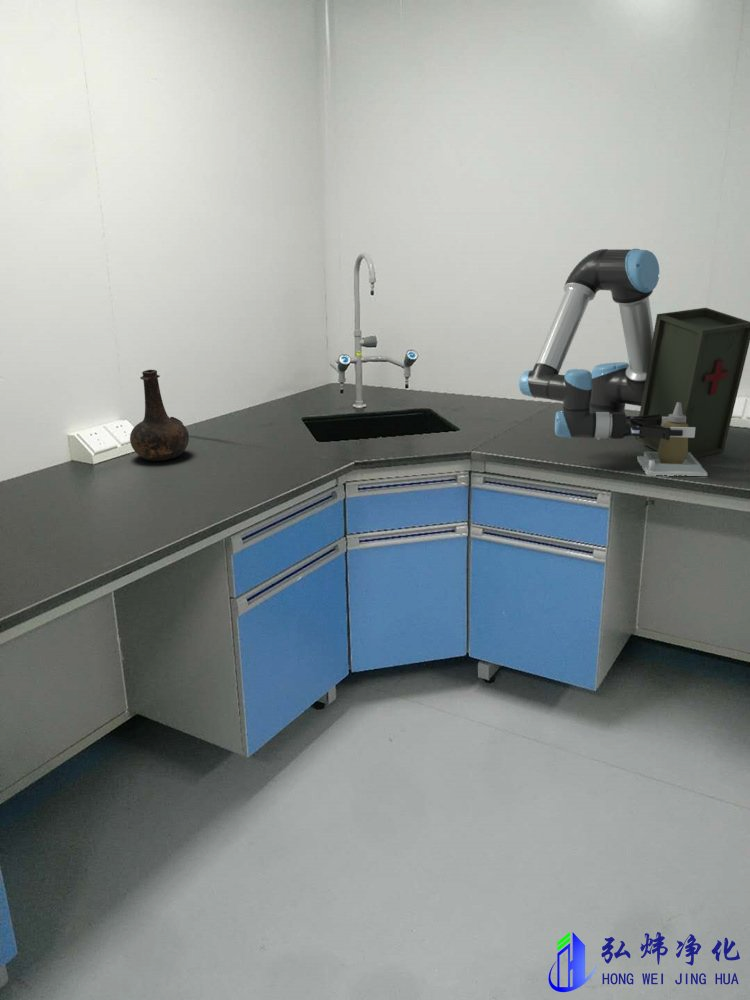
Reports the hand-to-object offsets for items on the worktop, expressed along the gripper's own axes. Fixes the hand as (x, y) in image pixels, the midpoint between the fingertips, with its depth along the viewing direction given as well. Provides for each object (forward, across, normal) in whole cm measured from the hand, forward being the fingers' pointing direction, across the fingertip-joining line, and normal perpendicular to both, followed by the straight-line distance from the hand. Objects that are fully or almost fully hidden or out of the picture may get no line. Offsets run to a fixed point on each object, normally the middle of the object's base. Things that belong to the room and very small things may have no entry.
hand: (690, 427), depth 213 cm
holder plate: (-4, -1, -12) cm, 13 cm away
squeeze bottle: (-4, -1, -11) cm, 12 cm away
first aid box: (+2, -21, -11) cm, 24 cm away
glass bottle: (-160, +3, -13) cm, 160 cm away
